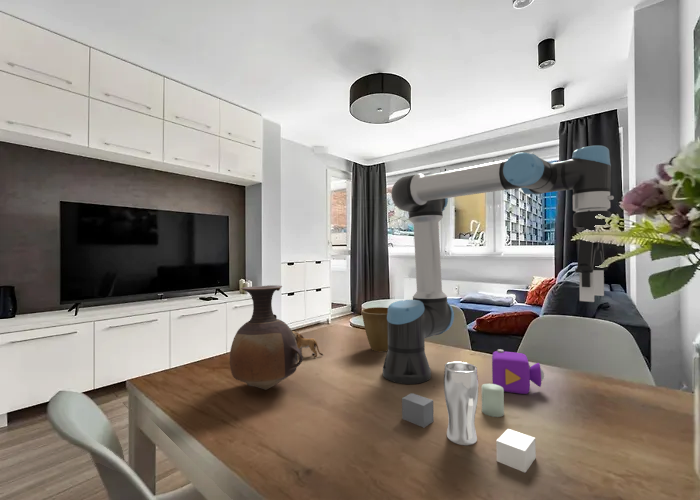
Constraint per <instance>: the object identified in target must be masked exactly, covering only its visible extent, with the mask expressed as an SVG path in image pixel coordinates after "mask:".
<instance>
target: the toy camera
mask: <svg viewBox="0 0 700 500" xmlns="http://www.w3.org/2000/svg"><path fill="white" fill-rule="evenodd" d="M491 356H492V357H491V366H492V367H491V374H492V376H491V377H492V384H496V385H499V386H501V387H503V389H504V392H506V393H512V394H513V393H515V394H521V395H528V394H529V392H530V389H531V382H532V383H534V384H535V385H536V386H537V387H540V388H541V386H542V381H543V380H544V379H545V373H544V370H543V369H542V367H541V364H540V362H536V363H534V364H533V365H530V363H529V359H528V357H527V355H526V354H524V353H521V352H516V351H514V352H513V351H505V350H504V349H501V348H500V349H499V348H498V349H497V350H496V351H493V352H492V355H491Z"/></svg>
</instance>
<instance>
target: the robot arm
mask: <svg viewBox="0 0 700 500" xmlns="http://www.w3.org/2000/svg"><path fill="white" fill-rule="evenodd" d="M611 167H612V164H611V157H610V150H609V148H608V147H606V146H604V145H590V146H589V145H588V146H583V147H581V148H576V149H575V150H574V151H573V152H572V156H571V159H568V160H563V161H556V162H549V161H547V160H544V159H542V158H541V157H539V156H538V155H536V154H534V153H529V152H524V151H523V152H516V153H514V154H513V155H511V156H510V157H509V158H507V159H503V160H499V161H493V162H488V163H482V164H479V165H474V166H468V167H463V168H459V169H458V168H457V169H453V170H447V171H443V172H438V173H432V174H428V175H424V174H422V173H416V174H415V173H414V174H409V175H406V176H402V177H400V178H399V179H397V180H396V181H395V182H394V184H393V185H392V187H391V193H390V195H391V200H392V202H393V204H394V205H395V206H396V207H397V208H398V209H399V210H401V211H404V212H408V220H409V221H410V222H411V223H412V224H413V237H414V238H413V239H414V240H413V241H414V257H415V258H414V260H415V277H416V278H415V279H416V280H415V282H416V283H415V284H416V292H415V293H414V294H413V296H412V299H405V300H402V299H401V300H398V301H397V300H396V301H395V302H392V303H391V304H389V305H388V307H387V308H388V314H387V330H388V351H386V352H387V353H386V356H385V359H384V363H383V366H382V376H383V379H386V380H388V381H390V382H392V383H393V382H394V383H396V384H402V385H403V384H405V385H414V384H415V385H417V384H421V383H425V382H427V381H428V380H430V379H431V377H432V373H431V372H432V371H431V367H430V363H429V361H428V358H427V354H426V352H425V348H426V347H425V339H427V338H430V337H434V336H438V335H441V334H443V333H445V332H447V331H449V330H450V328H451V327H452V325H453V324H454V321H455V311H454V309H453V307H452V305H451V304H450V303H449V302H448V296H447V294H446V293H444V292H443V285H442V284H443V283H442V266H441V263H442V262H441V248H440V246H441V243H440V229H439V228H440V227H439V222H440V221H441V220H442V219H443V215H444V214H443V212H444V211H445V209H446V207H447V205H448V202H449V198H457V197H463V196H471V195H472V196H473V195H478V194H486V193H493V192H499V191H506V190H507V191H508V190H515V189H516V190H517V189H520V190H521V191H522V193H524V194H525V195H541V194H546V193H554V192H555V193H556V192H560V191H561V192H562V191H570V190H572V211H573V212H574V213H573V214H572V215H573V217H572V222H573V223H572V225H573V226H572V227H573V228H574V229H575V228H576V229H581V230H580V231H579V233H580V232H582V231H584V230H586V229H589V230H595V227H594V226H595V225H605V224H606V222H605V220H601V219H596V218H595V216H596V215H598V214H601V215H603V216H605V217H610V216H611V217H612V213H611V212H610V211H611V210H610V209H611V200H614V198H615V197H614V195H611ZM609 210H610V211H609ZM578 245H579V248H578V255H577V256H578V258H577V266H576V268H574V269H575V271H574V272H575V273H577V274H578V275H579V285H578V286H579V302H589V303H594V302H595V296H598V297H599V296H601V297H604V296H605V277H604V276H605V274H604V272H605V271H608V266H607V267H606V268H597V267H595V266H599V265H601V264H602V263H603V262H604V263H605V255H604V243H591V242H586V241H582V240H580V239H579V244H578Z"/></svg>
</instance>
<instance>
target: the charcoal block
mask: <svg viewBox="0 0 700 500" xmlns="http://www.w3.org/2000/svg"><path fill="white" fill-rule="evenodd" d="M434 418H435V417H434V400H433V399H430V398H427V397H426V396H422V395H419V394H416V393H412V392H411V393H408V394H407V395H405V396H404V397H402V398H401V419H402V420H404V421H407V422H409V423H412V424H414V425H416V426H419V427H420V428H427V426H429V425H431V424H432V423H434Z"/></svg>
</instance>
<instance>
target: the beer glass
mask: <svg viewBox="0 0 700 500" xmlns="http://www.w3.org/2000/svg"><path fill="white" fill-rule="evenodd" d="M478 377H479V375H478V367H477V365H474V364H471V363H469V362H464V361H463V362H462V361H451V362H447V363H445V364H444V374H443V392H444V400H445V405H446V410H447V414H448V415H447V417H448V424H447V429H446V437H447V439H448V440H449V441H451V442H452V443H453V444H455V445H456V444H457V445H460V446H472V445H474V444H476V442H477V440H478V436H477V431H476V426H475V424H476V423H475V421H476V420H475V419H476V412H477V407H478V400H479V380H478V379H479V378H478Z"/></svg>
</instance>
